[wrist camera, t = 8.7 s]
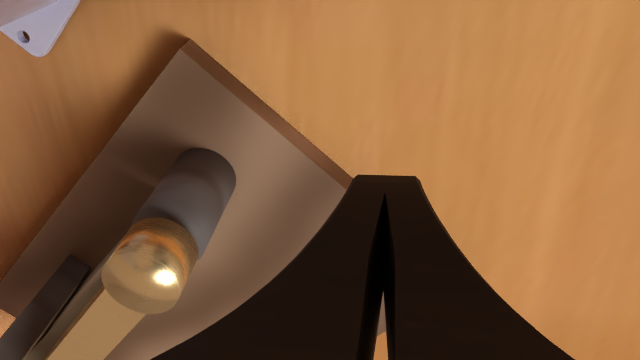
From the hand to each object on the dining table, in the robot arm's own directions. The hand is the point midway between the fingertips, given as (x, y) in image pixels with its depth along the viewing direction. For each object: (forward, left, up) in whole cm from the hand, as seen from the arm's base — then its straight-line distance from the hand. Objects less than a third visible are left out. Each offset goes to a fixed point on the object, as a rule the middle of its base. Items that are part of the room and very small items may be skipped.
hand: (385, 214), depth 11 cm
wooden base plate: (+2, -15, -10) cm, 18 cm away
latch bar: (-2, -15, -4) cm, 15 cm away
